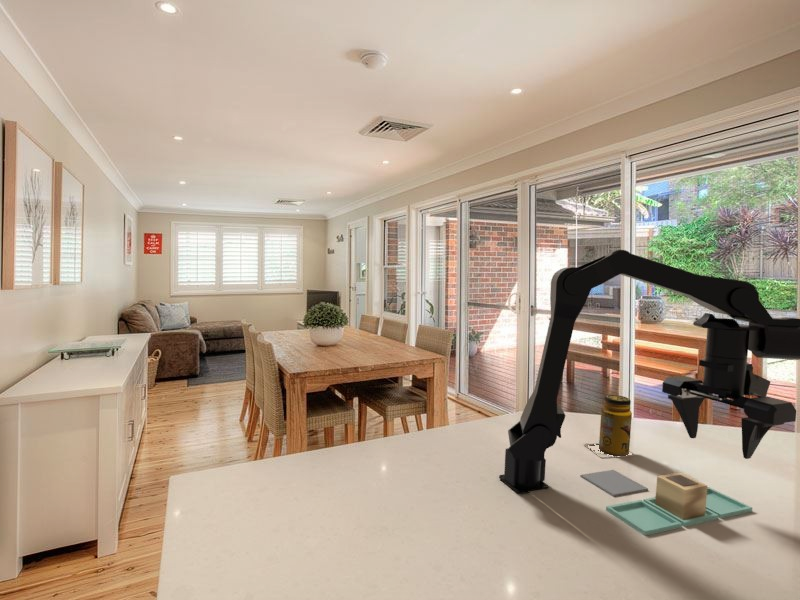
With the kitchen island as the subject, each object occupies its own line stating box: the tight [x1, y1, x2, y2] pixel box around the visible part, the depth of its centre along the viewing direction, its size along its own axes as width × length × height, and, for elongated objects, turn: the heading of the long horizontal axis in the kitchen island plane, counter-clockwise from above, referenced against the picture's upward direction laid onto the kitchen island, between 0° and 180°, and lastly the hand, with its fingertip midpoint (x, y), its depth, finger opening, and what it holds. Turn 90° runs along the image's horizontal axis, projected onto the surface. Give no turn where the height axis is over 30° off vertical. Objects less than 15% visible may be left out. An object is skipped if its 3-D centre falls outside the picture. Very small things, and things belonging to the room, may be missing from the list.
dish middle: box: [642, 496, 719, 528], centre depth 76 cm, size 8×8×1 cm
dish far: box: [706, 486, 753, 519], centre depth 79 cm, size 8×8×1 cm
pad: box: [579, 469, 649, 498], centre depth 85 cm, size 8×8×1 cm
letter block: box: [655, 472, 709, 520], centre depth 76 cm, size 5×5×5 cm
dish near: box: [605, 499, 683, 536], centre depth 73 cm, size 8×8×1 cm
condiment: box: [583, 394, 636, 458], centre depth 101 cm, size 7×8×12 cm
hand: (718, 447), depth 78 cm, fingers open, 9 cm apart
